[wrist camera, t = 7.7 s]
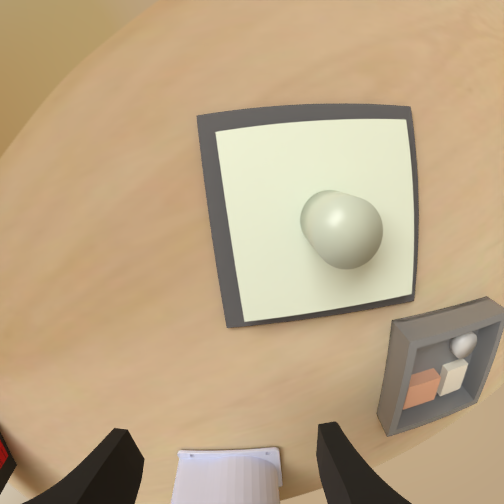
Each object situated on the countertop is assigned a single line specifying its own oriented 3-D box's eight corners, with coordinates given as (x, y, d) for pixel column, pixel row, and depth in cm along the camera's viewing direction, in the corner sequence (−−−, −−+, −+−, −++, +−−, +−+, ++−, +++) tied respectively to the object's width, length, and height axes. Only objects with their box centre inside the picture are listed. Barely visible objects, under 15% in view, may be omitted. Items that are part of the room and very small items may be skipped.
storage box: (376, 413, 22) (387, 437, 19) (391, 320, 19) (409, 341, 17) (462, 385, 22) (476, 402, 19) (486, 296, 19) (508, 310, 16)
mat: (227, 324, 19) (226, 328, 19) (197, 116, 16) (196, 115, 15) (411, 298, 19) (413, 300, 19) (407, 107, 15) (410, 106, 15)
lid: (244, 311, 19) (243, 355, 14) (218, 134, 16) (206, 122, 11) (402, 285, 18) (438, 318, 14) (395, 122, 15) (438, 112, 11)
